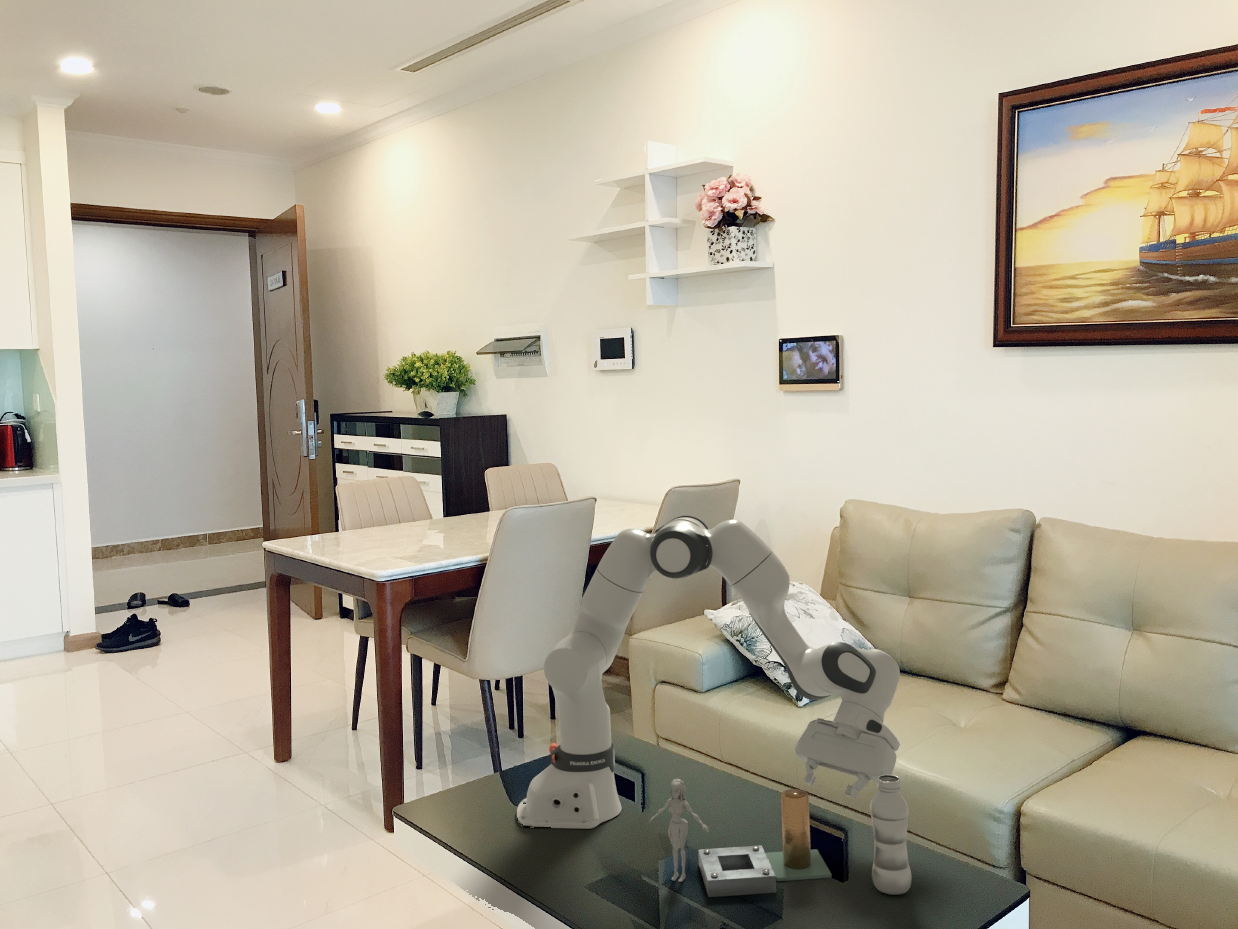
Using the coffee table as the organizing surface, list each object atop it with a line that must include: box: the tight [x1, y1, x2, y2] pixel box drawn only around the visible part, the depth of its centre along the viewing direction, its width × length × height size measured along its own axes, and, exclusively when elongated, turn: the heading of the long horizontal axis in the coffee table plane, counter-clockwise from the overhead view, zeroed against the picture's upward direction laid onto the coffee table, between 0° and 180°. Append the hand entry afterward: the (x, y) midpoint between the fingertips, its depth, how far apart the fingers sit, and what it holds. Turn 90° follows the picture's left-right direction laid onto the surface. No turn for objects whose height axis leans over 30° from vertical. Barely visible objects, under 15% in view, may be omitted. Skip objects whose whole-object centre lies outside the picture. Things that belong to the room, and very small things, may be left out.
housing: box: [697, 845, 777, 898], centre depth 175 cm, size 12×12×3 cm
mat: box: [765, 848, 832, 882], centre depth 179 cm, size 10×10×1 cm
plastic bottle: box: [869, 774, 913, 896], centre depth 168 cm, size 6×7×20 cm
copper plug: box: [780, 788, 811, 870], centre depth 178 cm, size 5×5×13 cm
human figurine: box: [647, 778, 710, 883], centre depth 176 cm, size 12×4×18 cm, turn 63°
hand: (828, 790), depth 185 cm, fingers open, 8 cm apart
